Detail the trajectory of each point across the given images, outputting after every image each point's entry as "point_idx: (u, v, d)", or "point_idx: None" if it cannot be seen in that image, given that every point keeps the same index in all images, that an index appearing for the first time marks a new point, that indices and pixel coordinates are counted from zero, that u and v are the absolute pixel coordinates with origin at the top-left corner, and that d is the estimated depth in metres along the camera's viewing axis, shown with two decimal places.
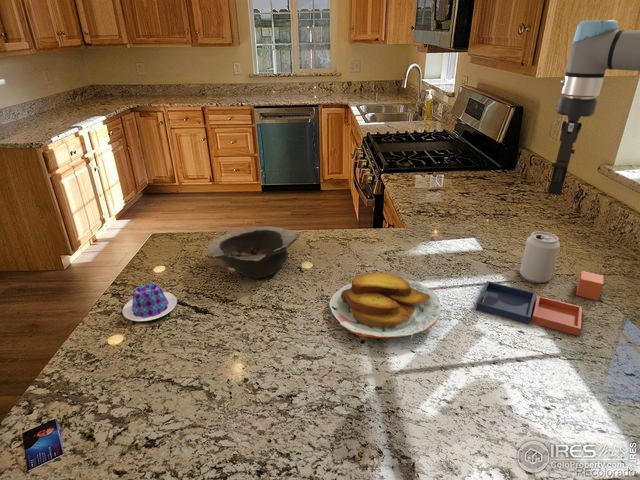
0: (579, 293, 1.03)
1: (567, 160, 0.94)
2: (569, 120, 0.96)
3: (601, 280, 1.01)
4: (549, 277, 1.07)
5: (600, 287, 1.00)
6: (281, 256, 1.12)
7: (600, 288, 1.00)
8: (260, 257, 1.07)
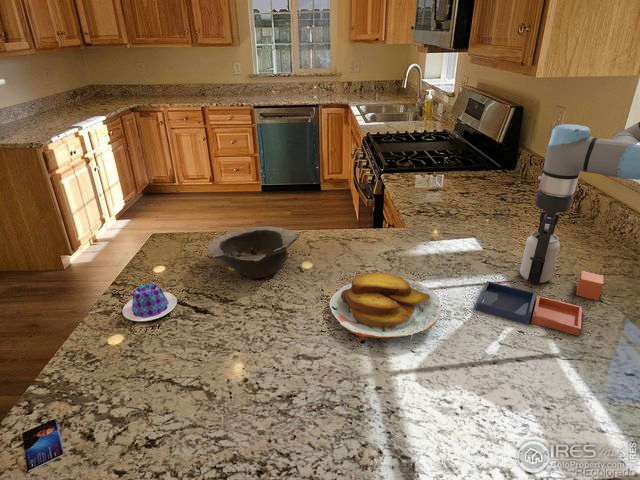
0: (579, 293, 1.03)
1: (543, 257, 1.01)
2: (546, 215, 1.00)
3: (601, 280, 1.01)
4: (549, 277, 1.07)
5: (600, 287, 1.00)
6: (281, 256, 1.12)
7: (600, 288, 1.00)
8: (260, 257, 1.07)
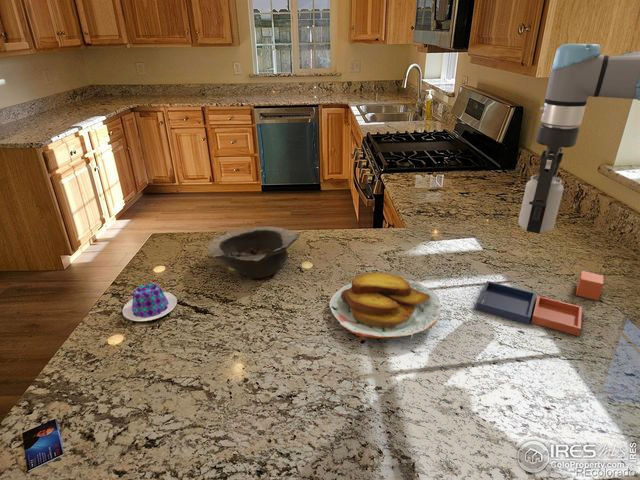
0: (579, 293, 1.03)
1: (545, 200, 0.88)
2: (548, 151, 0.88)
3: (601, 280, 1.01)
4: (551, 226, 0.95)
5: (600, 287, 1.00)
6: (281, 256, 1.12)
7: (600, 288, 1.00)
8: (260, 257, 1.07)
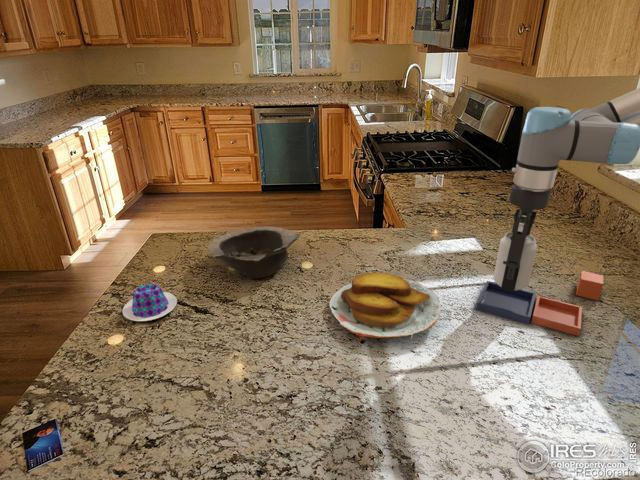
0: (579, 293, 1.03)
1: (518, 262, 0.87)
2: (521, 213, 0.87)
3: (601, 280, 1.01)
4: (525, 284, 0.94)
5: (600, 287, 1.00)
6: (281, 256, 1.12)
7: (600, 288, 1.00)
8: (260, 257, 1.07)
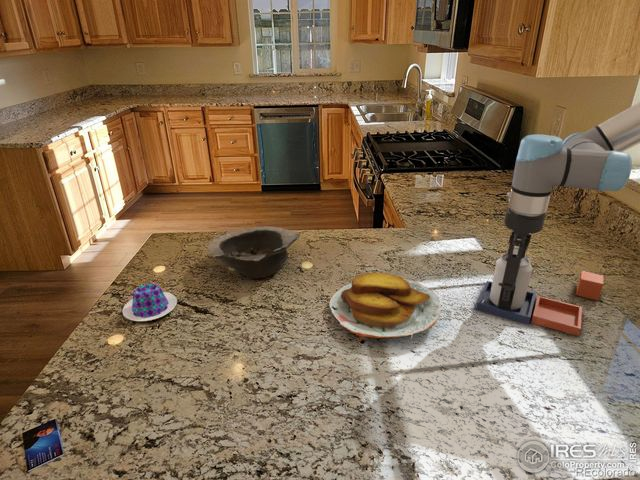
0: (579, 293, 1.03)
1: (513, 284, 0.89)
2: (516, 236, 0.89)
3: (601, 280, 1.01)
4: (521, 304, 0.96)
5: (600, 287, 1.00)
6: (281, 256, 1.12)
7: (600, 288, 1.00)
8: (260, 257, 1.07)
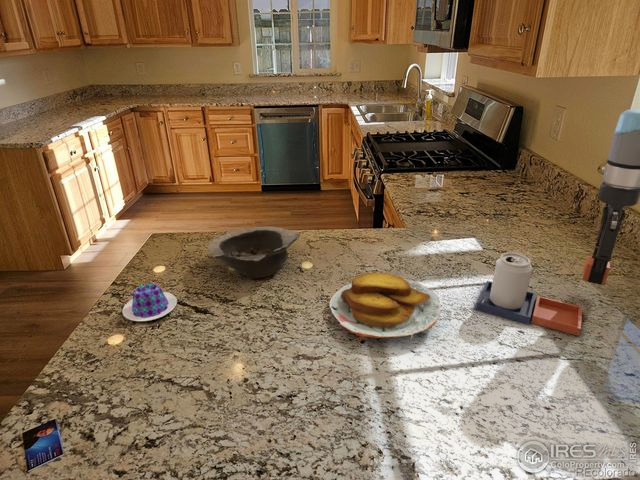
0: (585, 278, 1.01)
1: (609, 256, 0.93)
2: (612, 209, 0.91)
3: (607, 264, 0.99)
4: (521, 304, 0.96)
5: (607, 271, 0.98)
6: (281, 256, 1.12)
7: (607, 272, 0.98)
8: (260, 257, 1.07)
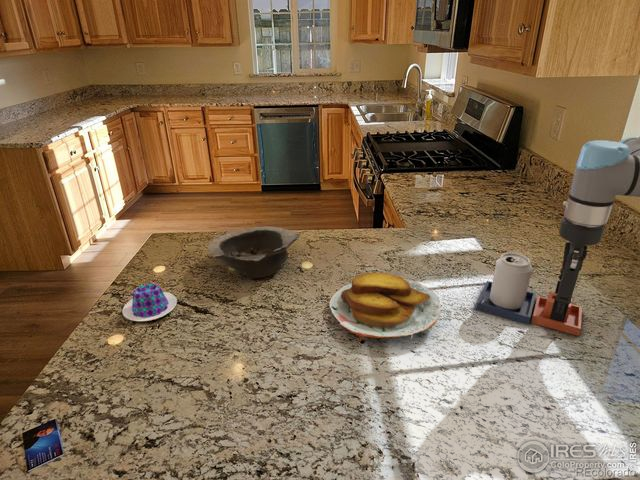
0: (546, 316, 0.94)
1: (569, 298, 0.85)
2: (573, 248, 0.84)
3: None
4: (521, 304, 0.96)
5: (568, 310, 0.91)
6: (281, 256, 1.12)
7: (568, 312, 0.91)
8: (260, 257, 1.07)
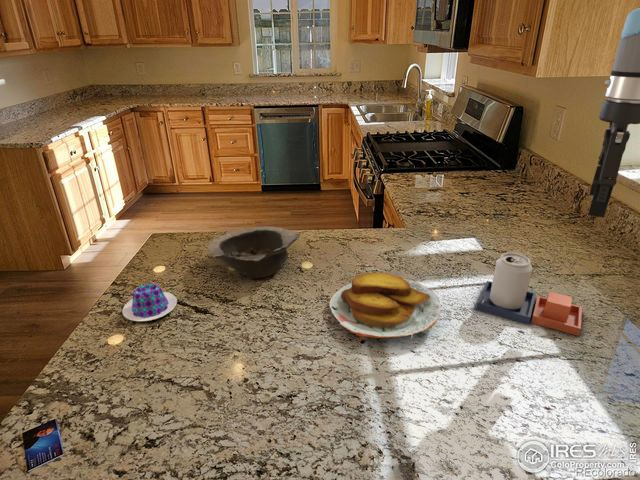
0: (546, 316, 0.94)
1: (615, 177, 0.78)
2: (616, 128, 0.80)
3: (569, 303, 0.92)
4: (521, 304, 0.96)
5: (568, 310, 0.91)
6: (281, 256, 1.12)
7: (568, 312, 0.91)
8: (260, 257, 1.07)
